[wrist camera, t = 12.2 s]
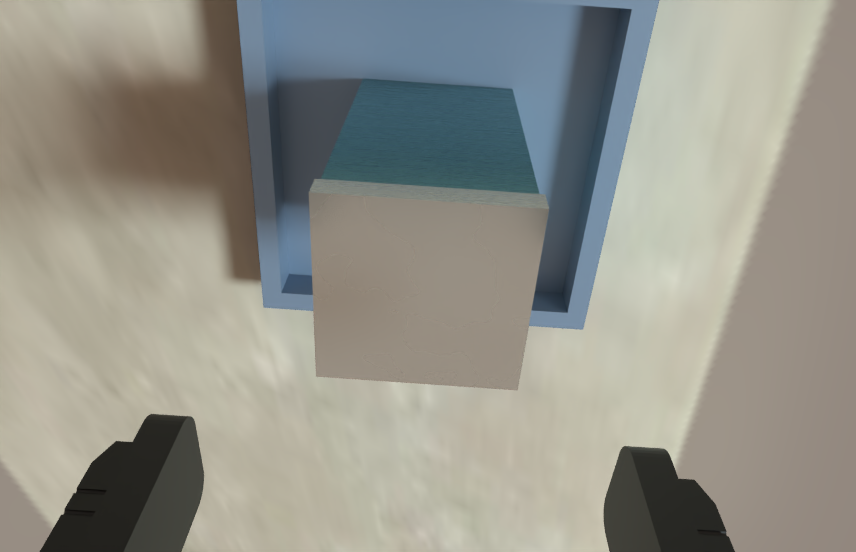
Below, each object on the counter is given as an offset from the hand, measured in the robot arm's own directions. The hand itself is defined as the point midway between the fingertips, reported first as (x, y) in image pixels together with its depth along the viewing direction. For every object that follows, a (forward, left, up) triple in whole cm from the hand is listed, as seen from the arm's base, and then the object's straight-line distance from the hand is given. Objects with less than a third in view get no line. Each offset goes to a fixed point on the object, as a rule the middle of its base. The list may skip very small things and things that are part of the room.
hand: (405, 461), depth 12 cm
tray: (0, 0, -16) cm, 16 cm away
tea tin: (0, 0, -16) cm, 16 cm away
